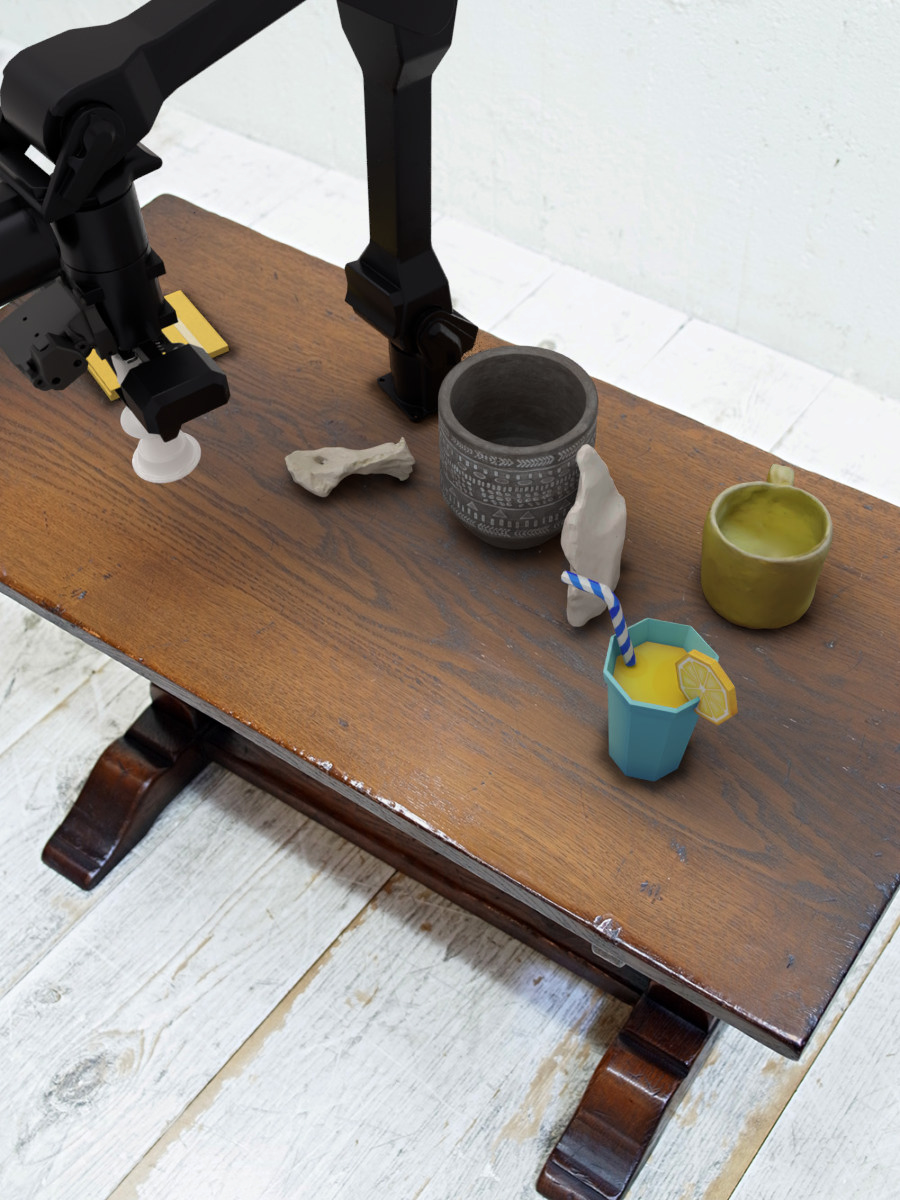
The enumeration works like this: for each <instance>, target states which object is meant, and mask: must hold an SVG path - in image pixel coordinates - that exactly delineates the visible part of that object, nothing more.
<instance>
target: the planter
mask: <svg viewBox="0 0 900 1200" xmlns="http://www.w3.org/2000/svg"><path fill="white" fill-rule="evenodd" d="M598 411H599V394H598V390H597V387H596V385H595V382H594V380H593V379H592V377H591V376H590V374H589V373H588V372H587V371H586V370H585V369H584V368H583V367H582V366H581V365H580V364H579V363H577V362H576V361H574V360H573V359H572V358H570V357H569V356H566V355H565V354H562V353H560V352H558V351H555V350H553V349H548V348H545V347H539V346H534V345H533V346H532V345H519V344H518V345H503V346H495V347H491V348H488V349H484V350H481V351H478V352H476V353H473V354H471V355H469V356H467V357H466V358H464V359H462V360H461V362H460V363H458V364H457V365H456V366H455V367H454V368H453V369H452V370H451V371H450V372H449V373H448V374H447V375H446V377H445V379H444V380H443V382H442V384H441V387H440V390H439V395H438V412H437V413H438V447H439V483H440V492H441V496H442V500H443V502H444V504H445V505H446V507H447V509H448V510H449V511H450V513H451V514H452V515H453V516H454V517H455V519H457V521H458V522H459V523H460V524H461V525H462V526H463V527H464V528H465V529H467V530H468V531H469V532H470V533H472V534H473V535H474V536H475V537H477V538H479V539H480V541H482V542H484V543H486V544H488V545H490V546H493V547H496V548H500V549H505V550H526V549H531V548H534V547H538V546H540V545H542V544H545V543H546V542H548V541H549V540H551V539H553V538H554V537H555V536H556V535H557V536H558V534H559V533H562V529H563V525H564V520H565V518H566V516H567V514H568V512H569V511H570V509H571V508H572V507H573V506H574V504H575V501H576V496H577V492H578V486H579V479H580V470H579V466H578V463H577V453H578V450H580V448H581V447H582V446H583V445H585V444H588V445H590V446H591V447H592V448H594V449H595V447H596V438H597V429H598V428H597V427H598V425H597V424H598Z"/></svg>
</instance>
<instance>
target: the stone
mask: <svg viewBox="0 0 900 1200" xmlns="http://www.w3.org/2000/svg"><path fill="white" fill-rule="evenodd" d="M577 463H578V466H579V470H580V479H579V486H578V492H577V496H576V501H575V504H574V506H573V507H572V508H571V509H570V511H569V512H568V514H567V516H566V518H565V520H564V525H563V529H562V531H561V535H560V536H561V537H560V545H561V548H562V551H563V553H564V556H565V558H566V560H567V561H568V564H570V565H569V568H570V569H569V572H572V573H574V574H577V575H580V576H582V577H585V578H588V579H590V580H593V581H596V582H598V583H601V584H604V585H606V586H608V587H609V588H610V590H611V591H612V592H613V593H614V591H616V588H617V585H618V583H619V580H620V575H621V558H622V553H623V549H624V543H625V539H626V529H627V517H628V516H627V513H628V512H627V505H626V501H625V497H624V496H623V495H622V494H621V493H619V491H618V488H617V487H616V485H615V481H614V479H613V478H612V476H611V475H610V474H611V473H610V470H609V468H608V465H607V464H606V462H605V461H604V460H603V458H602V457H601V456H600V455H599V453H598V452H597V451H596V449H595V448H592V447H591V446H590V445H588V444H585V445H583V446H582V447H581V448H580V450H578V453H577ZM607 607H608V606H607V604H606V603H605V602H604V601H603V600H602V599H601V598H600V597H597V596H595V595H592V594H590V593H587V592H585V591H583V590H580V589H578V588H575V587H573V586H570V585H568V586H567V601H566V618H567V622H568V623H569V625H571V626H572V627H576V628H577V627H579V628H580V627H582V626H584V625H586V623H588V621H590V620H591V619H594V618H595V617H598V616H600V615H602V613H603V612H604V611H605V610H606V609H607Z"/></svg>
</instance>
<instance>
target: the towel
mask: <svg viewBox="0 0 900 1200" xmlns="http://www.w3.org/2000/svg"><path fill="white" fill-rule="evenodd" d="M163 297H164V298H165V299H166V300H167V301H168V302H169V303H170V305H171V306H172V307H173V308H174V309H175V310H176V314H177V318H178V323H175V324H173V325H171V326H168V327H166V328H164V329H162V332H163V333H164V334H165V335H166V337H167V338H168V339H169V340H170V341H171V342H172V343H178V342H179V343H184V344H185V345H186V344H188V343H189V344H192V345H195V346H198V347H201V348H203V349H204V350H205V351H206V352H207V353H208V355H209V356H210V357H211V358H212V359H214V358H215V357H218V356H220V355H223V354H225V353H228V352H230V349H229V344H228V343H227V342H226V341H225V340H224V339H223V338H222V337H221V336H220V334H219V333H218V332H217V331H216V330H215V328H214V327H213V326H212V325H211V324H210V323H209V321H208V320H207V319H206V318H205V317H204V316H203V314H202V313H201V312H200V311H199V310H198V308H196V306H195V305H194V304H193V303H192V302H191V301H190V299H189V298H188V297H187V296H186V295H185V293H184V292H183V291H182V290H181V289H180V290H177V291H174V292H172V293H169V294H167V295H163ZM163 354H165V353H163ZM86 360H87V361H88V369H87V371H88V372H89V373H90V375H91V376H92V377H93V379H94V380H95V381H96V383H97V384H98V386H99V387H100V388H101V389H102V390H103V392H104V393H105V395H106V396H107V397H108V399H109V401H110V402H112V401H115V400H118V399H121V398H120V397H119V395H118V394H117V393H116V392H115V389H117V388H120V387H121V386H120V385H119V383H118V381H117V377H116V375H115V374H114V372H113V370H112V369H111V367H110V366H109V364H108V362H107V361H106V359H104V360H101V359H100V357H99V356H98V355H97V354H96V351H95V349H93V350H92V352H91V354H90V355H89V356H88V357H87V358H86Z"/></svg>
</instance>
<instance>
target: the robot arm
mask: <svg viewBox="0 0 900 1200" xmlns="http://www.w3.org/2000/svg"><path fill="white" fill-rule="evenodd" d="M335 1H336V6H337V11H338V15H339V20H340V21H339V22H340V26H341V29H342V32H343V33H344V36H345V37H346V40H347V42H348V44H349V46H350V48H351V50H352V52H353V54H354V56H355V58H356V62H357V63H358V65H359V68H360V70H361V74H362V83H363V105H364V106H363V107H364V131H365V132H364V133H365V134H364V135H365V154H366V155H365V156H366V157H365V158H366V177H367V178H366V180H367V182H366V183H367V202H368V205H367V206H368V224H369V225H368V229H369V230H368V231H369V242H368V244H367V245H366V246H365V248H364V250H363V251H361V254H360V255H359V257H358V258H357V259H356V260H352V261H349V262H347V263H346V264H345V265H344V268H343V269H344V274H345V278H346V287H347V288H346V294H345V296H344V302H345V303H346V304H348V305H349V306H350V307H351V308H352V310H353V312H354V314H355V315H357V316H358V317H359V318H360V319H361V320H363V321H364V322H365V323H366V324H368V325H369V326H370V327H372V328H373V329H374V330H375V331H377V332H378V333H379V334H381V336H383V337H384V338H386V339H387V342H388V344H387V345H388V357H389V368H390V372H388V373H386V374H384V375H381V376H379V377H378V378H377V379H376V386H377V387H378V388H379V389H380V390H381V391H382V392H383V393H384V394H385V396H386V397H388V398H389V399H390V401H391V402H392V403H393V404H394V405H395V406H396V407H397V408H398V409H399V410H400V411H401V412H402V413H403V414H404V415H405V416H406V417H407V419H409V421H410V422H412V423H418V422H420V421H422V420H425V419H426V418H429V417H431V416H433V415H435V414H437V413H439V412H438V395H439V390H440V387H441V384H442V382H443V380H444V379H445V377H446V375H447V374H448V373H449V372H450V371H451V370H452V369H453V368H454V367H455V366H456V365H457V364H458V363H460V362H461V361H462V360H463V357H464V355H465V354H466V353H468V352H470V351H471V350H473V349H474V347H475V345H476V340H477V338H478V334H479V331H480V330H479V329H480V328H479V326H478V325H476V324H475V323H474V322H472V321H471V320H469V319H468V318H467V317H466V316H464V315H463V314H461V313H460V312H459V311H457V310H456V309H454V306H453V301H452V294H451V288H450V281H449V279H448V277H447V275H446V272H445V271H444V269H443V266H442V264H441V262H440V261H439V258H438V256H437V253H436V251H435V249H434V248H433V243H432V242H433V241H432V179H433V178H432V174H433V173H432V171H433V170H432V163H433V162H432V160H433V159H432V152H433V151H432V145H433V143H432V141H433V140H432V137H433V136H432V135H433V134H432V133H433V131H432V130H433V128H432V127H433V126H432V125H433V124H432V123H433V122H432V121H433V120H432V118H433V117H432V116H433V114H432V108H433V107H432V106H433V101H432V100H433V99H432V98H433V97H432V95H433V93H432V90H433V88H432V87H433V86H432V85H433V75H434V73H435V72H436V70H437V69H438V67H439V66H440V64H441V62H442V61H443V59H444V57H445V56H446V54H447V53H448V51H449V50H450V48H451V46H452V43H453V38H454V31H455V24H456V16H457V10H458V3H459V0H335ZM305 2H307V0H149V1H147V2H146V3H144V4H142V5H141V6H139V7H138V8H137V9H135V10H134V11H132V12H131V13H129V14H128V15H126V16H124V17H121V18H119V19H117V20H114V21H112V22H110V23H107V24H100V25H92V26H91V25H90V26H85V27H84V26H83V27H78V28H71V29H67V30H65V31H61V32H60V33H57V34H55V35H53V36H51V37H49V38H46V39H43V40H41V41H39V42H36V43H34V44H31V45H29V46H26V47H25V48H23V49H21V50H20V51H19V52H17V53H16V54H15V55H14V56H13V57H12V58H10V60H9V61H8V62H7V64H6V65H5V67H4V68H3V69H2V76H3V77H2V80H1V85H0V308H2V307H4V306H6V305H8V304H10V303H13V302H14V301H16V300H19V299H20V298H22V297H24V296H26V295H29V294H31V293H33V292H34V291H37V290H39V291H37V292H36V293H33V295H31V296H29V298H28V299H26V300H25V301H24V302H22V303H21V304H20V305H19V306H18V307H17V308H15V309H14V310H13V311H11V312H10V313H9V314H8V315H7V316H6V317H4V318H3V319H1V321H0V349H1V351H2V352H3V353H4V354H5V356H6V357H7V358H8V360H9V362H11V364H12V365H13V366H15V368H16V369H17V370H18V371H20V372H21V373H22V374H23V375H24V377H26V379H28V380H29V382H30V383H31V384H32V386H33V387H34V388H35V389H38V390H40V391H42V392H47V391H51V390H53V391H55V392H56V391H64V390H65V389H67V388H68V387H69V386H70V385H72V384H73V383H75V382H76V380H78V379H80V377H81V376H82V375H84V374H85V373H86V372H87V371H88V361H87V360H86V358H87V357H88V356H89V355H90V354H91V352H92V350H93V349H95V351H96V354H97V355H98V356H99V357H100V359H101V360H104V359H106V361H107V362H108V364H109V366H110V367H111V369H112V370H113V372H114V374H115V375H116V377H117V372H116V370H115V367H114V365H113V361H112V357H111V356H113V355H116V354H117V355H118V356H119V358H120V359H121V360H122V361H123V363H124V364H130V363H132V362H134V361H136V360H137V359H138V357H139V359H140V360H141V361H142V363H140V364H138V366H136V367H134V368H131V369H130V370H129V371H128V373H127V375H126V377H125V378H124V380H123V382H122V383H121V387H120V388H117V389H115V392H116V393H117V394H118V395H119V397H120V398H119V399H121V401H122V402H123V403H124V405H125V407H126V406H127V407H128V408H129V409H130V410H131V411H132V413H133V414H134V415H135V417H136V418H137V419H138V420H139V422H140V423H141V424H142V426H143V427H144V428H145V429H146V431H147V432H148V433H149V434H158V435H160V437H161V439H162V440H163V442H165V443H166V442H169V441H171V440H173V439H175V438H177V436H178V434H179V431H180V430H181V429H182V427H183V425H184V424H187V423H188V422H190V421H192V420H196V419H197V418H199V417H202V416H203V415H205V414H208V413H209V412H213V411H214V410H217V409H219V408H220V407H223V406H225V405H227V404H228V403H229V400H230V398H231V390H230V386H229V382H228V377H227V374H226V373H225V372H224V370H223V369H222V368H221V367H220V366H219V365H218V364H217V363H216V361H215V360H214V358H211V357H210V356H209V355H208V353H207V352H206V351H205V350H204V349H203V348H201V347H198V346H195V345H192V344H189V343H188V344H186V345H185V344H184V343H179V342H178V343H172V342H171V341H170V340H169V339H168V338H167V337H166V335H165V334H164V333H163V332H162V329H164V328H166V327H168V326H171V325H173V324H175V323H178V318H177V314H176V310H175V309H174V308H173V307H172V306H171V305H170V303H169V302H168V301H167V300H166V299H165V298H164V295H163V290H162V288H161V284H160V279H159V278H160V277H162V276H164V275H167V270H166V267H165V262H164V260H163V259H162V258H161V256H160V255H158V253H157V252H156V251H155V250H154V249H153V248H152V247H151V243H150V240H149V236H148V232H147V228H146V224H145V220H144V217H143V213H142V210H141V205H140V201H139V197H138V193H137V190H136V185H135V181H136V180H139V179H141V178H142V177H145V176H147V175H149V174H151V173H153V172H156V171H157V170H160V169H161V168H162V167H163V164H164V162H163V159H162V158H161V157H160V156H159V155H158V154H157V153H155V152H154V151H152V149H150V148H149V147H147V146H146V145H144V143H142V142H141V141H142V140H143V139H144V138H146V136H148V135H149V133H150V132H151V130H152V129H153V126H154V125H155V121H156V120H157V117H158V116H159V113H160V111H161V109H162V107H163V105H164V103H165V101H166V100H167V99H168V98H170V96H172V95H173V94H174V93H175V92H176V91H177V90H178V89H179V88H181V87H182V86H184V85H185V84H187V83H188V82H189V81H192V80H193V79H194V78H195V77H197V76H198V75H200V74H201V73H202V72H205V70H207V69H209V68H210V67H211V66H213V65H215V64H216V63H217V62H218V61H220V60H222V59H223V58H224V57H226V56H227V55H229V54H231V53H232V52H234V51H235V50H236V49H238V48H239V47H241V46H242V45H244V44H245V43H246V42H248V41H250V40H251V39H253V38H254V37H255V36H257V35H258V34H260V33H261V32H263V31H264V30H265V29H267V28H269V27H270V26H271V25H273V24H274V23H276V22H277V21H279V20H280V19H281V18H283V17H284V16H286V15H287V14H289V13H290V12H292V11H293V10H294V9H297V8H298V7H299V6H301V5H302V4H303V3H305ZM31 146H32V147H33V148H34V149H36V151H38V152H39V153H40V154H41V155H42V156H44V157H45V158H46V159H47V160H48V161H50V162H51V163H52V164H53V165H54V168H53V171H52V173H48V172H47V171H45V170H44V169H43V168H42V167H41V166H39V165H38V164H37V163H36V162H35V161H33V159H31V157H29V156H28V155H27V154H26V153H27V151H28V149H30V147H31ZM133 351H134V352H133ZM163 353H165V354H163ZM135 354H136V355H135Z"/></svg>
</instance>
